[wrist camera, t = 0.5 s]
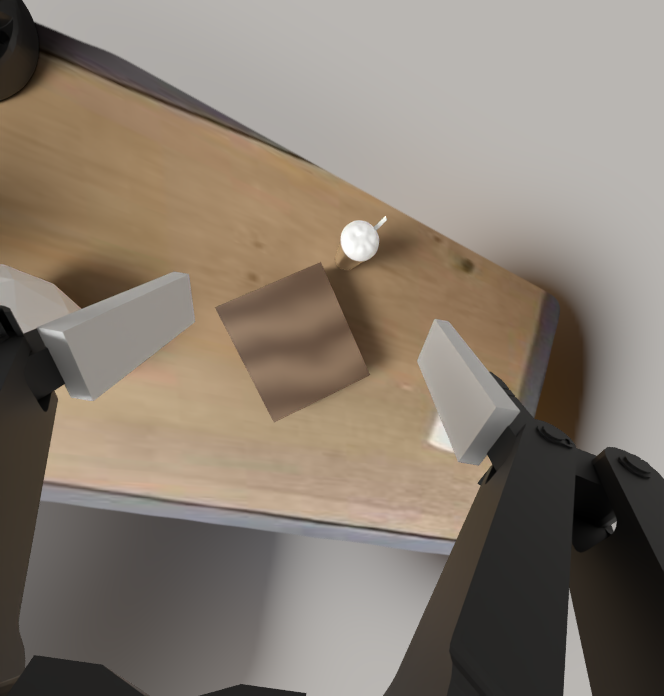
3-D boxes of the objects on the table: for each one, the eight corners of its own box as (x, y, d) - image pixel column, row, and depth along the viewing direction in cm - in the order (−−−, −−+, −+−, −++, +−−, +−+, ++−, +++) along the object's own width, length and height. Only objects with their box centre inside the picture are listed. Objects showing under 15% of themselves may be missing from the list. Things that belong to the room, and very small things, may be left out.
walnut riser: (225, 310, 35) (214, 307, 30) (316, 270, 36) (320, 262, 32) (276, 409, 37) (273, 422, 32) (360, 368, 39) (370, 374, 34)
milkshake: (370, 259, 38) (398, 235, 28) (342, 281, 37) (361, 264, 27) (352, 233, 37) (374, 199, 27) (323, 256, 36) (335, 229, 27)
